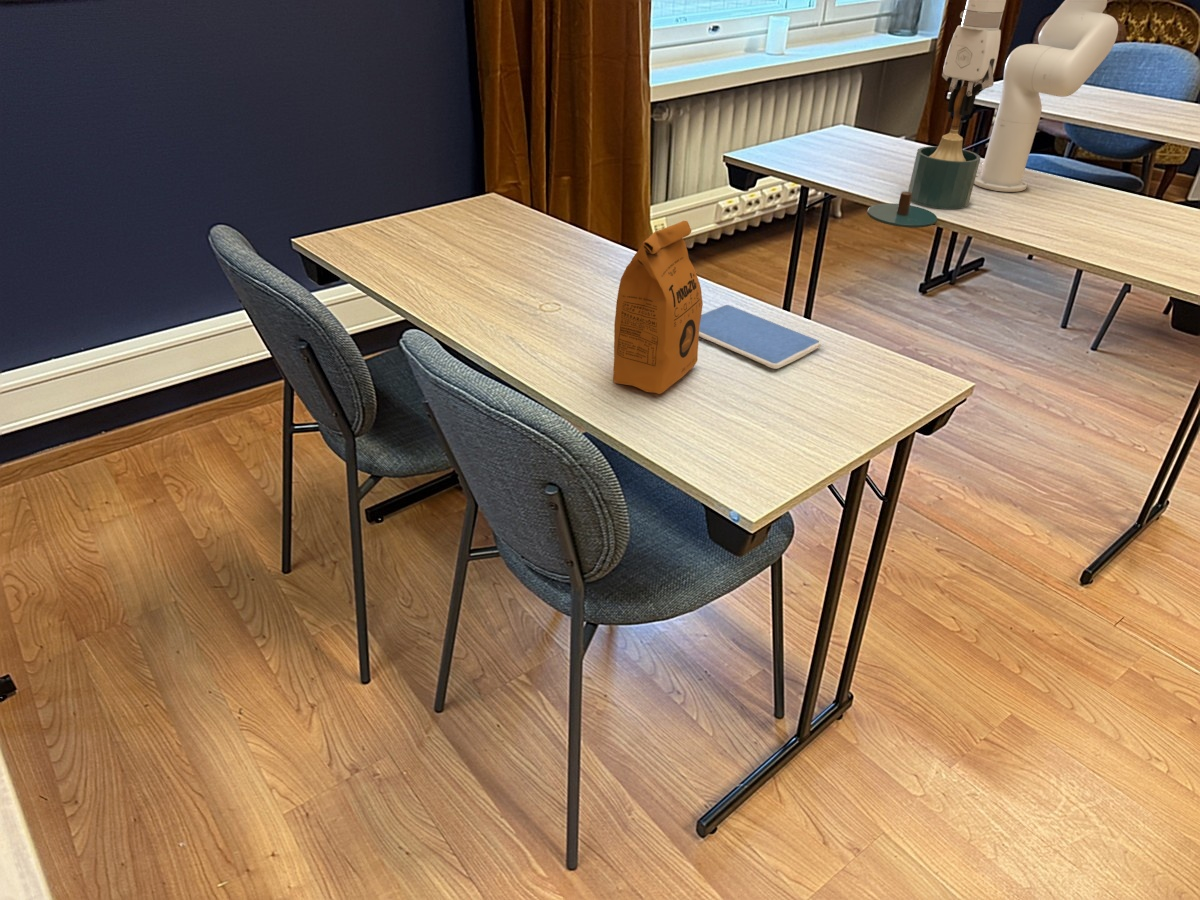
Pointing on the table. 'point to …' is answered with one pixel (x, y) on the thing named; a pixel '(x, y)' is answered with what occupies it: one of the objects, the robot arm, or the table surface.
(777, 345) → the tablet
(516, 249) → the table surface
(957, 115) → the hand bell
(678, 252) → the coffee package
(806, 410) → the table surface
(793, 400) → the table surface
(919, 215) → the tin lid
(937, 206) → the tin
